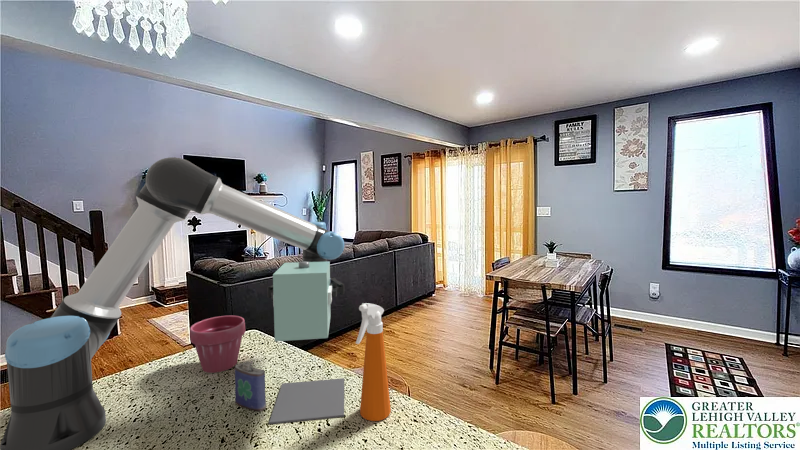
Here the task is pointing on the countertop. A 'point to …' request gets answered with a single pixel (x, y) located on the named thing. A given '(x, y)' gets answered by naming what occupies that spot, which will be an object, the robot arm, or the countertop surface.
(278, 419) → the rubber mat
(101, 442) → the countertop surface
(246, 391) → the flask
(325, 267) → the box
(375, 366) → the spray bottle
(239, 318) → the plant pot
